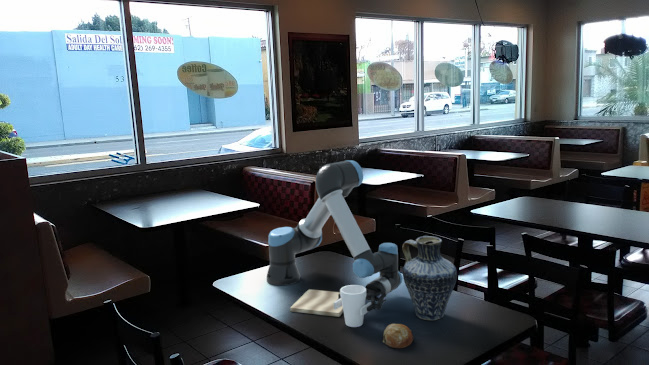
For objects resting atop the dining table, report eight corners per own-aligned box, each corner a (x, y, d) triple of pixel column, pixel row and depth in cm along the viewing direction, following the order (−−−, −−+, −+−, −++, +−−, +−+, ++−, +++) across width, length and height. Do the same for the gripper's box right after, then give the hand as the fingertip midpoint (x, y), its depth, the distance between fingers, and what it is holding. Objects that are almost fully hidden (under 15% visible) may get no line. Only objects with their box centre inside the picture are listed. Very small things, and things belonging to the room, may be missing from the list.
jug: (463, 311, 201) (463, 234, 195) (447, 332, 184) (447, 248, 179) (411, 302, 211) (411, 229, 206) (392, 321, 195) (391, 242, 189)
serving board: (290, 311, 206) (290, 307, 206) (308, 292, 225) (308, 289, 225) (339, 316, 200) (339, 313, 200) (354, 297, 218) (353, 293, 218)
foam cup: (367, 318, 198) (366, 284, 196) (366, 329, 189) (366, 294, 187) (342, 317, 199) (340, 284, 197) (340, 328, 190) (339, 294, 188)
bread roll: (382, 346, 183) (373, 329, 180) (406, 329, 185) (397, 312, 183) (396, 360, 174) (387, 341, 171) (421, 341, 176) (412, 323, 174)
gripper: (404, 304, 201) (376, 326, 183) (352, 293, 214) (321, 312, 196) (404, 285, 200) (375, 305, 182) (352, 275, 213) (320, 293, 195)
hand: (347, 309), depth 189 cm, fingers open, 10 cm apart
